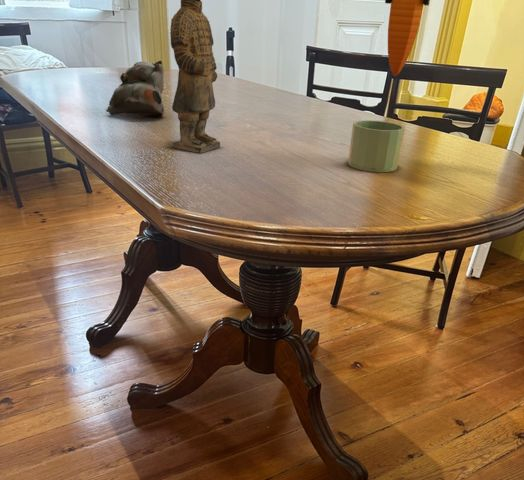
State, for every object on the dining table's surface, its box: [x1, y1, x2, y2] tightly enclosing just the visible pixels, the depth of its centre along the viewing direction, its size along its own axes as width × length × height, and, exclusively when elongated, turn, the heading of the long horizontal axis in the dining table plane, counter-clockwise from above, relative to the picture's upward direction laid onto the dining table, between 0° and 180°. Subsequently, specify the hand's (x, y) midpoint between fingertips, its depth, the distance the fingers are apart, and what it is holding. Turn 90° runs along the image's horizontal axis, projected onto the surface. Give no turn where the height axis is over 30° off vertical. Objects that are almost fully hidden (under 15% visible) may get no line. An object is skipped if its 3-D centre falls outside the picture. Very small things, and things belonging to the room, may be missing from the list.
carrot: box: [387, 0, 424, 77], centre depth 79 cm, size 5×5×15 cm
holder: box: [347, 119, 406, 173], centre depth 94 cm, size 9×9×7 cm
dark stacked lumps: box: [105, 60, 165, 118], centre depth 122 cm, size 15×12×14 cm
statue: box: [169, 0, 221, 154], centre depth 92 cm, size 10×8×30 cm
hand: (407, 2), depth 77 cm, fingers closed on carrot, 4 cm apart
